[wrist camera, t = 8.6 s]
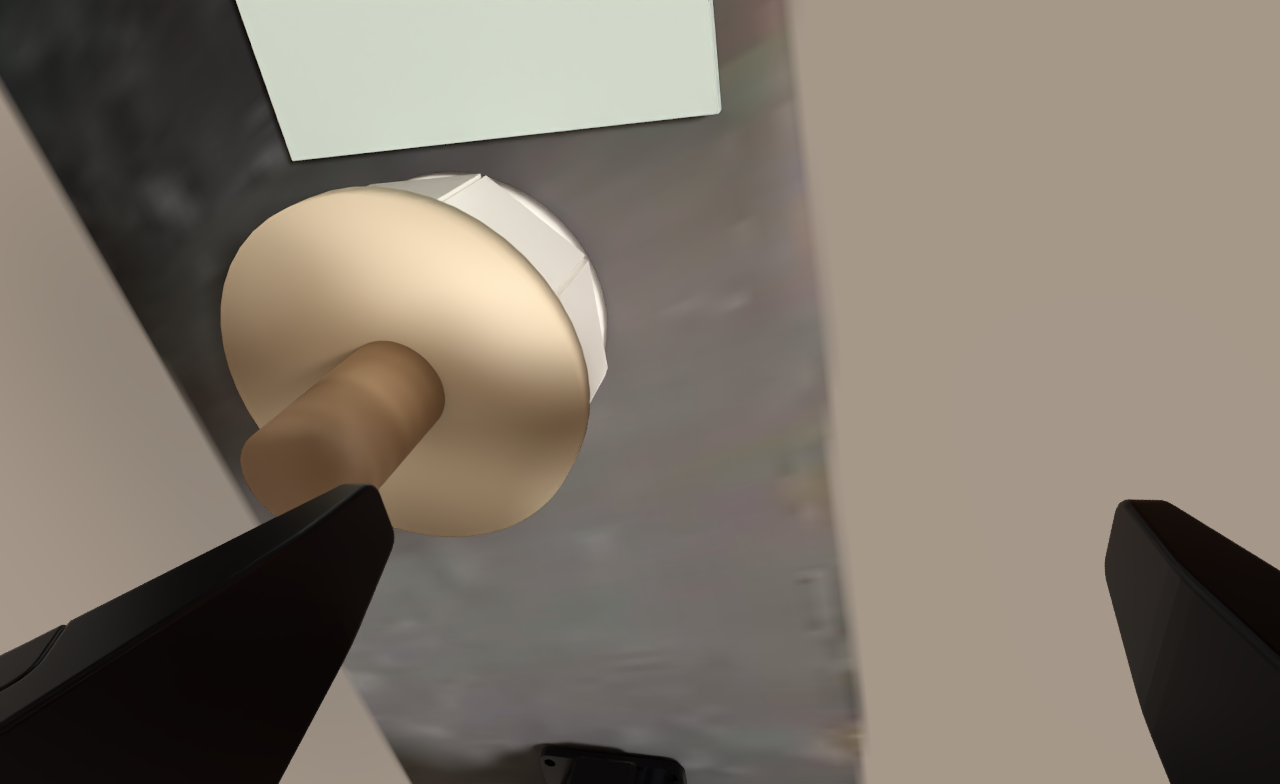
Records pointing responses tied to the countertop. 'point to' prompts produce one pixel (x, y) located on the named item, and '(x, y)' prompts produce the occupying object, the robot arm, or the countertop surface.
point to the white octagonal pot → (531, 249)
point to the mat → (476, 68)
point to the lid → (402, 362)
